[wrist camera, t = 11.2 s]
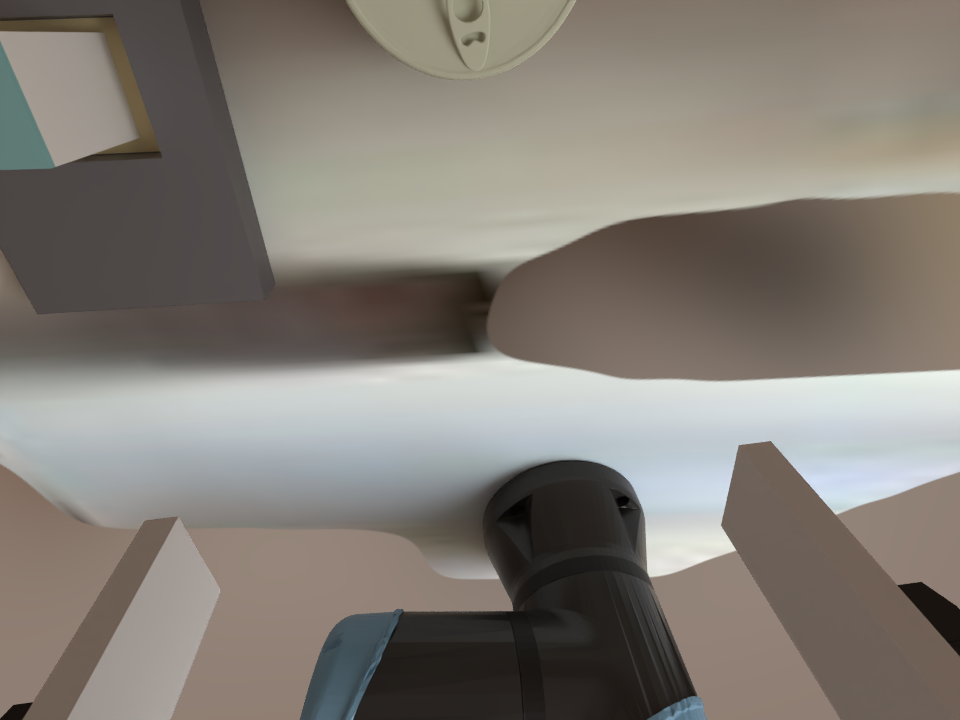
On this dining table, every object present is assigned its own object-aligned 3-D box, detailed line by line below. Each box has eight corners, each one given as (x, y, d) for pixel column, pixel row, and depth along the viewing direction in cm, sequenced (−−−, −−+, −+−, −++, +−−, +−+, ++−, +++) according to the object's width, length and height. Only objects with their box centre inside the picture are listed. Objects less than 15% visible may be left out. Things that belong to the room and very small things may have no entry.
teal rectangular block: (140, 137, 29) (51, 168, 22) (66, 139, 29) (-47, 171, 22) (104, 32, 26) (-10, 31, 19) (22, 33, 26) (-122, 33, 19)
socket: (275, 284, 35) (264, 300, 33) (62, 297, 34) (37, 314, 32) (169, -109, 24) (144, -123, 22) (-146, -102, 23) (-203, -116, 21)
